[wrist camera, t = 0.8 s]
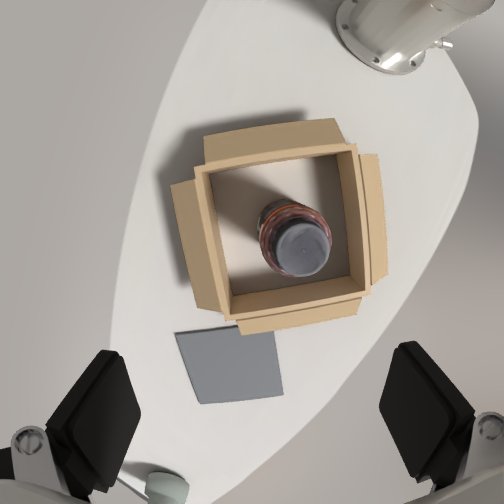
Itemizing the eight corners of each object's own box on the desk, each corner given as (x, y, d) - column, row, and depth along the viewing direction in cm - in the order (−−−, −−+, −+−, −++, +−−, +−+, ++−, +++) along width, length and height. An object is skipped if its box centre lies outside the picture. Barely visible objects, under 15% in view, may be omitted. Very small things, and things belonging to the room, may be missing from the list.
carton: (359, 121, 28) (378, 112, 23) (377, 296, 33) (395, 313, 28) (171, 149, 29) (157, 143, 24) (209, 327, 34) (203, 349, 29)
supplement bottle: (245, 232, 31) (244, 260, 20) (277, 187, 30) (293, 190, 19) (289, 263, 32) (309, 303, 21) (321, 220, 31) (358, 240, 20)
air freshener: (184, 492, 45) (178, 526, 35) (148, 482, 44) (139, 516, 34) (192, 473, 42) (186, 512, 33) (151, 462, 42) (140, 500, 32)
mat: (272, 321, 34) (272, 322, 33) (283, 393, 37) (283, 395, 36) (176, 333, 34) (175, 335, 34) (200, 402, 37) (200, 404, 37)
